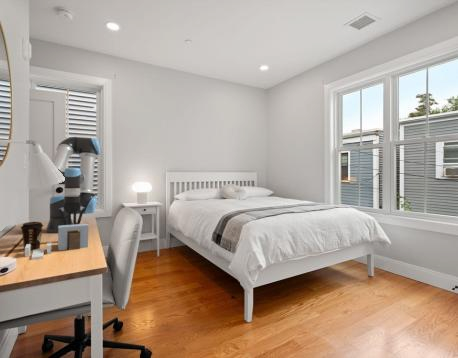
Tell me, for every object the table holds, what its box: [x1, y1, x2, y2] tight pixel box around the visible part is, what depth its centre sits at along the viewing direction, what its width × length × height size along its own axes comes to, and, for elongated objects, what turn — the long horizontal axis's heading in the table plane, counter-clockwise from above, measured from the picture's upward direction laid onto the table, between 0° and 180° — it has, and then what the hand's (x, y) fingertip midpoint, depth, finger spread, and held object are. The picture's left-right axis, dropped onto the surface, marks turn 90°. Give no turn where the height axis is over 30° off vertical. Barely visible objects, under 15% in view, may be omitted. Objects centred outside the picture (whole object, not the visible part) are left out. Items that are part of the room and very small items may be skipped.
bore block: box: [57, 223, 89, 252], centre depth 129 cm, size 5×13×11 cm, turn 124°
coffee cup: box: [20, 221, 44, 252], centre depth 125 cm, size 9×8×13 cm
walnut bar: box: [67, 230, 81, 251], centre depth 132 cm, size 14×4×8 cm, turn 36°
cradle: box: [24, 241, 52, 261], centre depth 117 cm, size 13×10×4 cm
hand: (71, 238), depth 142 cm, fingers closed
